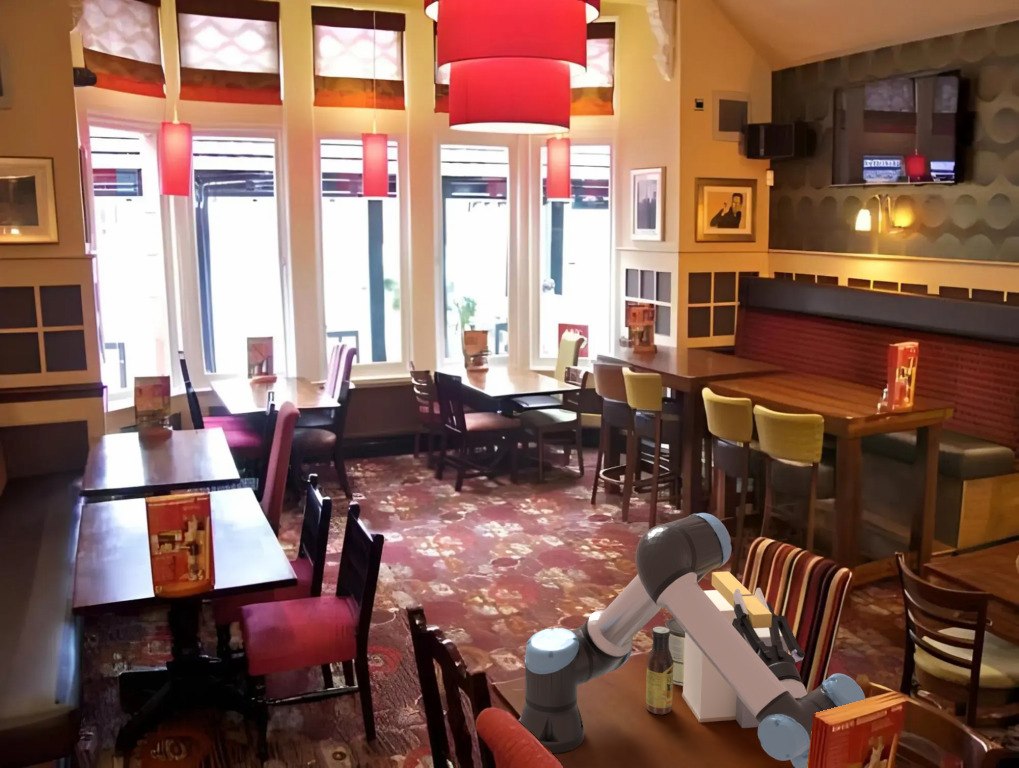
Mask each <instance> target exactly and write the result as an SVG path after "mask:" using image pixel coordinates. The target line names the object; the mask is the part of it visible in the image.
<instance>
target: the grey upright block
mask: <svg viewBox="0 0 1019 768" xmlns="http://www.w3.org/2000/svg"><path fill="white" fill-rule="evenodd" d="M753 629H754V630H755V632H756V633H757V635H758V637H759V638H760V640H761V641H763V642H764V644H765V645H766V646H772V644H771V638H770V632H769V628H753ZM779 633H780V638H781V641H782V645H783V650H784V651H786V652H787V653H788V654H789V650H788V647H787V645H786V643H785V641H784V639H783V636H782V634H781V632H780V630H779ZM743 634H744V633H743ZM744 637H745V635H744ZM745 640H746V642H747V643H748V644H749V645H750V643H749V642H748V640H747V638H746V637H745ZM750 647H751V648H752V646H751V645H750ZM752 649H753V648H752ZM736 722H737V723H738V725H739V726H740V727H741V729H749V728H758V727H759V724H760V723H759V722H758V720H757V719H756V718H755V716H754V715H753V714H752V713H751V712H750V710H749V709H748V708H747V707H746V705H745V704H744V703H743V702H742V701H741V699H740V698H739V697H738V696H737V701H736Z"/></svg>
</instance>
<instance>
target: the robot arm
mask: <svg viewBox="0 0 1019 768" xmlns="http://www.w3.org/2000/svg"><path fill="white" fill-rule="evenodd" d="M731 541H732V540H731V536H730V534H729V531H728V530H727V528H726V526H725V525H724V523H722V521H721V519H719V518H717V517H716V516H715V515H713V514H710V513H708V512H707V513H706V512H699V513H692V514H690V515H688V516H687V517H683V518H680V519H676V520H673V521H670V522H666V523H663V524H659V525H655V526H653V527H651V528H650V529H648V530H647V531H646V532H645V533H643V535H642V536H641V537H640V539H639V541H638V543H637V546H636V550H635V558H634V560H635V567H636V571H637V575H636V576H634V578H633V579H632V580H631V581H630V582H629V583H628V584H627V585H626V587H624V589H623V590H622V591H621V592H620V593H619V594H618V595H617V596H616V598H614V599H613V600H612V602H610V604H609V605H608V606H607V607H606V608H605V609H599V610H596V611H594V612H593V613H591V615H590V616H589V617H587V619H586V620H584V623H582V624H581V625H580V626H579V627H577V628H575V629H572V630H570V629H567V628H564V627H554V628H551V627H550V628H545V629H542V630H539V631H537V632H535V633H534V634H533V635H532V636H530V638H529V639H528V640H527V642H526V646H525V654H524V655H525V656H524V669H525V672H524V674H525V675H524V676H525V678H524V679H525V682H524V683H525V686H524V687H525V689H524V690H525V691H524V694H525V695H524V699H525V701H524V704H523V707H522V710H521V715H520V717H519V719H518V721H520V722H521V723H522V724H523V725H524V726H525V727H526V728H527V729H528V730H529V731H531V732H532V733H533V734H534V735H535V736H536V737H537V738H538V739H539V741H540V742H541V743H542V744H543V745H544V746H546V747H547V748H548V749H549V750H550V751H551V752H552V753H551V754H561V753H566V752H569V751H573V750H574V749H576V748H578V747H579V746H580V745H581V744H582V743H583V742H584V739H585V724H584V722H583V717H582V715H581V712H580V709H579V706H578V687H579V686H580V685H583V684H584V683H586V682H587V683H588V682H589V681H591V680H593V679H596V678H599V677H600V676H603V675H605V674H607V673H611V672H613V671H616V670H618V669H619V668H621V667H622V666H623V665H624V664H626V663H627V661H628V660H629V658H630V657H631V655H632V650H633V649H632V648H633V643H634V637H635V636H637V634H639V632H640V631H641V630H642V629H643V628H645V626H646V625H647V624H648V623H649V622H650V621H651V620H652V619H653V618H654V617H655V616H656V615H657V614H658V613H659V612H660V611H661V610H662V609H666V610H667V611H668V613H669V614H670V615H671V616H672V618H674V619H675V620H676V621H677V622H678V623H679V625H680V626H681V627H682V628H683V630H684V631H685V632H686V633H687V634H688V636H689V637H690V638H691V639H692V641H693V642H694V643H695V644H696V645H697V647H698V648H699V649H700V650H701V652H702V653H703V654H704V655H705V657H706V658H707V659H708V660H709V661H710V663H711V664H712V665H713V666H714V668H715V669H716V670H717V671H718V672H719V674H720V675H721V676H722V677H723V679H724V680H725V681H726V682H727V683H728V685H729V686H730V687H731V688H732V690H733V691H734V692H735V693H736V694H737V696H738V697H739V698H740V699H741V701H742V702H743V703H744V704H745V705H746V707H747V708H748V709H749V710H750V712H751V713H752V714H753V715H754V716H755V718H756V719H757V720H758V722H759V723H760V724H759V727H757V736H758V737H757V738H758V739H759V742H760V745H761V748H762V749H763V750H764V752H765V753H766V754H767V755H768V756H769V757H772V758H774V760H777V761H783V762H784V761H786V762H787V761H789V760H790V763H791V764H792V766H793V767H794V768H807V762H808V754H809V748H810V740H811V731H812V723H813V714H814V713H816V712H820V711H823V710H827V709H831V708H834V707H838V706H842V705H846V704H849V703H852V702H856V701H860V700H864V699H865V700H866V696H865V693H864V691H863V689H862V687H861V686H860V685H858V683H857V682H856V681H855V680H854V679H853V678H851V677H850V676H849V675H846V674H844V673H833V674H831V675H830V676H828V677H827V679H825V680H822V682H821V684H820V685H819V686H818V687H817V688H815V689H814V690H812V691H810V692H809V693H807V690H806V686H805V685H804V684H803V681H802V678H801V675H800V673H799V671H798V668H797V666H796V663H802V662H803V659H804V657H805V656H806V653H805V651H804V650H803V648H801V646H800V645H799V643H798V641H797V639H796V637H795V635H794V632H793V631H792V629H791V625H790V623H789V622H788V620H787V618H786V616H785V615H780V616H779V615H777V614H776V613H775V611H774V608H773V607H772V605H771V603H770V602H767V601H766V599H765V597H764V596H765V595H764V594H763V591H762V588H761V587H756V590H755V591H754V594H753V596H754V597H755V598H756V599H757V600H758V601H759V602H760V603H761V604H762V605H764V606H765V607H766V608H767V609H768V610H769V611H770V612H771V613H772V622H771V627H770V628H769V632H770V638H771V644H772V646H766V645H765V644H764V642H763V641H761V640H760V638H759V637H758V635H757V633H756V632H755V630H754V629H753V627H752V625H751V624H750V622H749V621H748V619H747V617H748V611H747V608H746V605H745V603H744V600H743V598H742V595H741V592H740V590H739V589H736V590H735V593H734V595H733V599H734V601H735V604H736V605H735V607H734V612H735V615H736V617H737V618H734V620H733V622H732V624H731V623H730V622H729V621H728V619H727V618H726V617H725V616H724V615H723V614H722V612H721V611H720V610H719V609H718V608H717V606H716V605H715V604H714V603H713V602H712V601H711V599H710V598H709V597H708V596H707V595H706V593H705V592H704V591H705V590H704V589H703V588H701V586H700V585H699V584H698V583H699V582H700V581H701V580H702V579H703V578H704V577H705V576H706V575H708V573H710V572H711V571H712V570H714V569H715V570H716V569H719V568H721V567H722V566H724V565H725V564H726V563H728V561H729V559H730V557H731V555H732V544H731ZM779 630H780V632H781V634H782V636H783V639H784V641H785V643H786V645H787V647H788V653H787V652H786V651H784V650H783V645H782V641H781V638H780V633H779ZM743 633H744V634H743ZM744 635H745V637H746V638H747V640H748V642H749V643H750V645H751V646H752V648H753V649H752V648H751V647H750V645H749V644H748V643H747V642H746V640H745V637H744Z"/></svg>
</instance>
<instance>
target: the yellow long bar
mask: <svg viewBox="0 0 1019 768" xmlns="http://www.w3.org/2000/svg"><path fill="white" fill-rule="evenodd" d="M711 586H712V587H713V588H714V590H717V591H718V592H719V593H720V594H721V595H722V596H723V597H724V598H725V599H726V601H727V602H728V603H729V604H730V605H731V606H732V607H733V608H734V607H735V605H736V604H735V601H734V599H733V595H734V593H735V590H736V589H739V590H740V592H741V595H742V598H743V600H744V603H745V605H746V608H747V611H748V617H747V619H748V621H749V622H750V624H751V625H752V627H753V628H770V627H771V622H772V613H771V612H770V611H769V610H768V609H767V608H766V607H765V606H764V605H762V604H761V603H760V602H759V601H758V600H757V599H756V598H755V597H754V594H753V593H751V591H749V589H748V588H746V586H744V585H743V584H742V583H741V582H740V581H739V580H738V579H737V578H736V577H735V576H734V575H733V574H732V573H731V572H730V571H729V570H728V571H716V572H715V571H714V572H711Z"/></svg>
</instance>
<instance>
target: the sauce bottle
mask: <svg viewBox="0 0 1019 768" xmlns="http://www.w3.org/2000/svg"><path fill="white" fill-rule="evenodd" d="M651 635H652V647H651V648H652V649H650V651H649V652H648V654H647V661H646V662H647V666H646V680H645V682H646V683H645V685H646V686H645V687H646V689H645V702H646V704H645V706H646V709H647V711H648V712H650V713H652V714H655V715H666V714H668V713H670V712H671V711H672V709H673V708H672V707H673V706H672V705H673V697H674V696H673V693H674V692H673V691H674V690H673V689H674V684H673V667H674V662H673V659H672V656H671V653H670V650H669V636H670V630H669V629H668V628H666V627H665V626H656V627H653V628H652V633H651Z"/></svg>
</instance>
